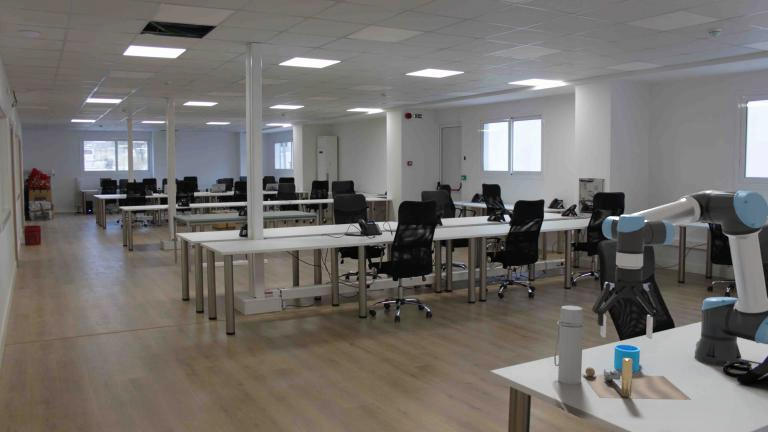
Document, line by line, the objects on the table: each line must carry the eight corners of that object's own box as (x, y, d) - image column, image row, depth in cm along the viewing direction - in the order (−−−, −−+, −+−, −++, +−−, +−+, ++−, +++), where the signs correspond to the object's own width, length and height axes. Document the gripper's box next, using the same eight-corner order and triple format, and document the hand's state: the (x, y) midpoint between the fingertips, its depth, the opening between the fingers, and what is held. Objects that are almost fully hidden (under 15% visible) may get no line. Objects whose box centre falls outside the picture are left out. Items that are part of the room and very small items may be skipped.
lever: (600, 375, 210) (602, 342, 209) (614, 375, 210) (615, 342, 209) (620, 397, 191) (621, 360, 190) (635, 397, 191) (636, 361, 190)
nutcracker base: (663, 379, 212) (664, 366, 211) (691, 403, 191) (691, 388, 190) (581, 377, 213) (581, 364, 213) (599, 401, 192) (600, 386, 192)
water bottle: (585, 383, 207) (588, 307, 205) (573, 389, 202) (576, 311, 200) (560, 376, 214) (562, 303, 212) (547, 382, 208) (550, 307, 206)
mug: (631, 376, 215) (632, 352, 214) (609, 370, 221) (610, 347, 220) (649, 369, 222) (650, 346, 222) (627, 363, 229) (628, 341, 228)
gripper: (666, 265, 193) (663, 334, 195) (583, 263, 194) (580, 332, 196) (677, 269, 186) (673, 341, 187) (590, 267, 187) (587, 339, 188)
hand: (625, 337), depth 192 cm, fingers open, 13 cm apart
